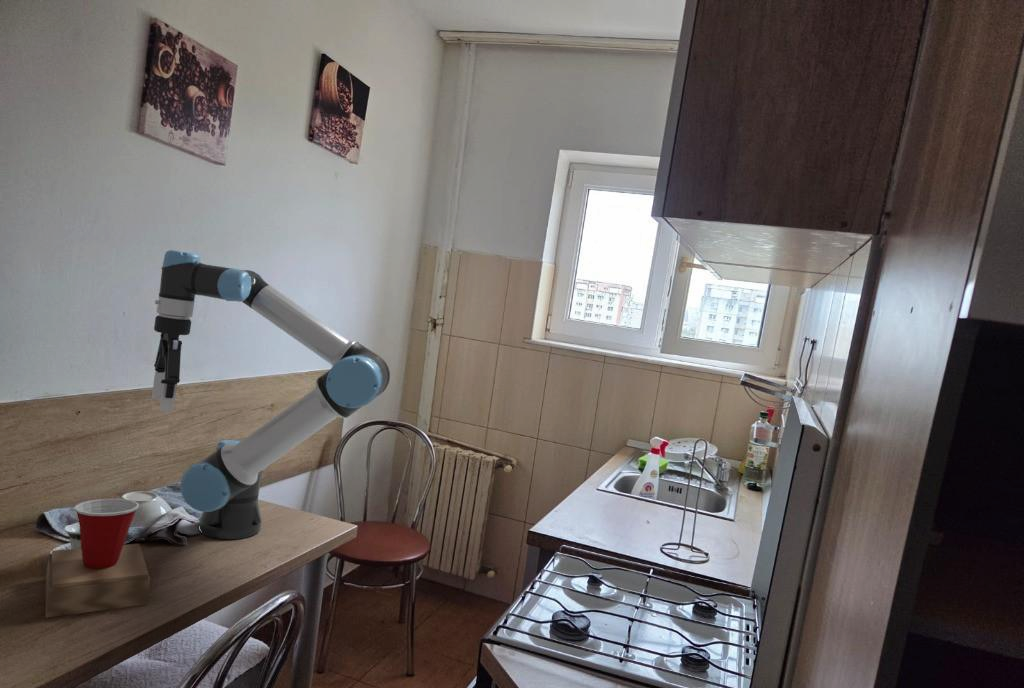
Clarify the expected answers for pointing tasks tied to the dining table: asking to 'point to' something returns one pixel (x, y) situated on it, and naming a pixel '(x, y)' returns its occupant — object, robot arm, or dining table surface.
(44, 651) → the dining table surface
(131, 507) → the plastic cup
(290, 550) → the dining table surface
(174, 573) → the dining table surface
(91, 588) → the brown flat block
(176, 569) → the dining table surface
